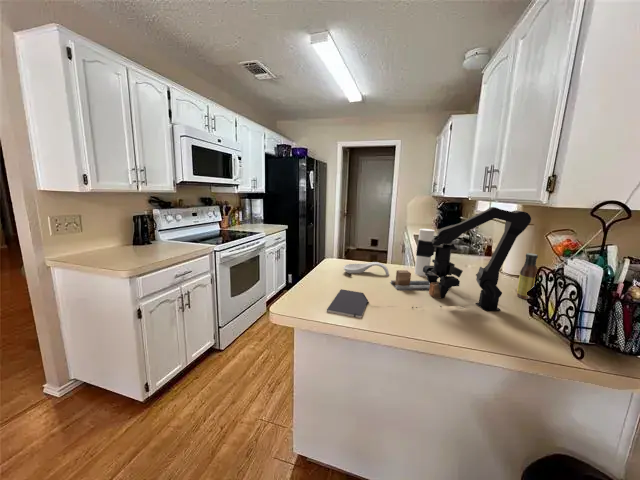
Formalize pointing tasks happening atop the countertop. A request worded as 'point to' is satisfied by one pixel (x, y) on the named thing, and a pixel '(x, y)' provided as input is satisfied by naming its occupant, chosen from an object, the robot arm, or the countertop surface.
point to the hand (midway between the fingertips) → (437, 294)
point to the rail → (413, 286)
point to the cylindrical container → (421, 261)
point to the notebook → (348, 303)
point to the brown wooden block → (434, 290)
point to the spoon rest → (363, 267)
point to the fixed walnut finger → (402, 277)
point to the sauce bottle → (527, 276)
